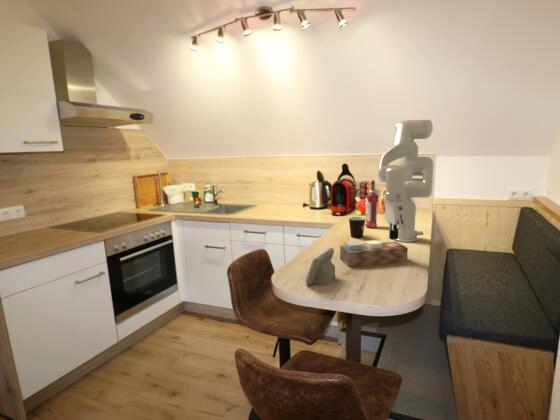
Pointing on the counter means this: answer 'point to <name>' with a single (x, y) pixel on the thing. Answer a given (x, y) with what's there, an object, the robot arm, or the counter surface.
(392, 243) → the pink block
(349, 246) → the blue key
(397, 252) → the frame
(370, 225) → the liquor
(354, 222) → the coffee mug
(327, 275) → the grey rock
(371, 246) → the white key
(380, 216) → the counter surface
